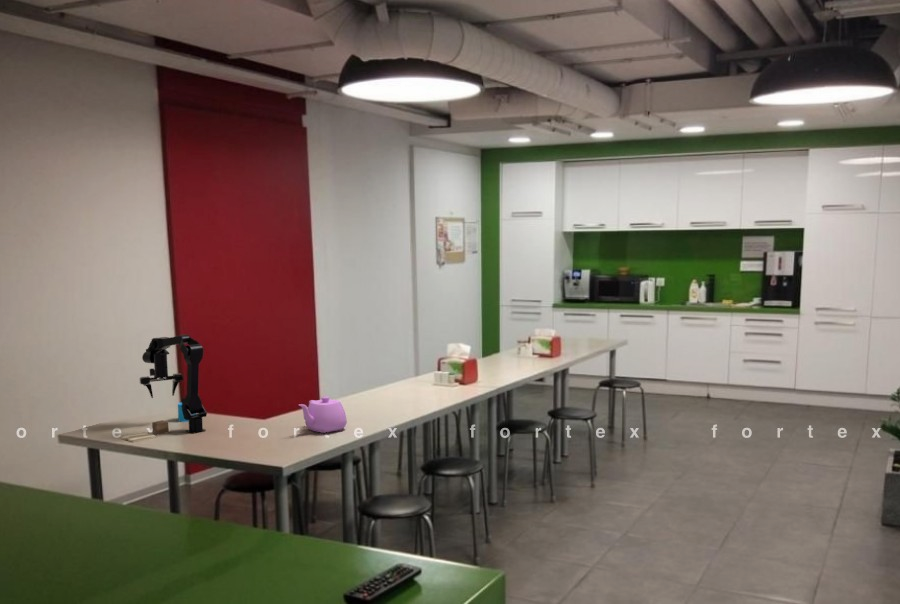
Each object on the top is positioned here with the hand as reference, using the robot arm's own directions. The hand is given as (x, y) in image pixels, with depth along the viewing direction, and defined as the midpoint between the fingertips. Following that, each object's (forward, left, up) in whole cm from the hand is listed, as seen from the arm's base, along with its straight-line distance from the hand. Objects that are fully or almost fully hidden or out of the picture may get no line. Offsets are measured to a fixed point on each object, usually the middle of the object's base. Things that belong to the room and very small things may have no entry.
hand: (162, 396), depth 338 cm
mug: (+2, -14, -14) cm, 20 cm away
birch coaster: (-15, +20, -14) cm, 28 cm away
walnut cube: (-13, +9, -14) cm, 21 cm away
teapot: (-70, -39, -14) cm, 82 cm away
